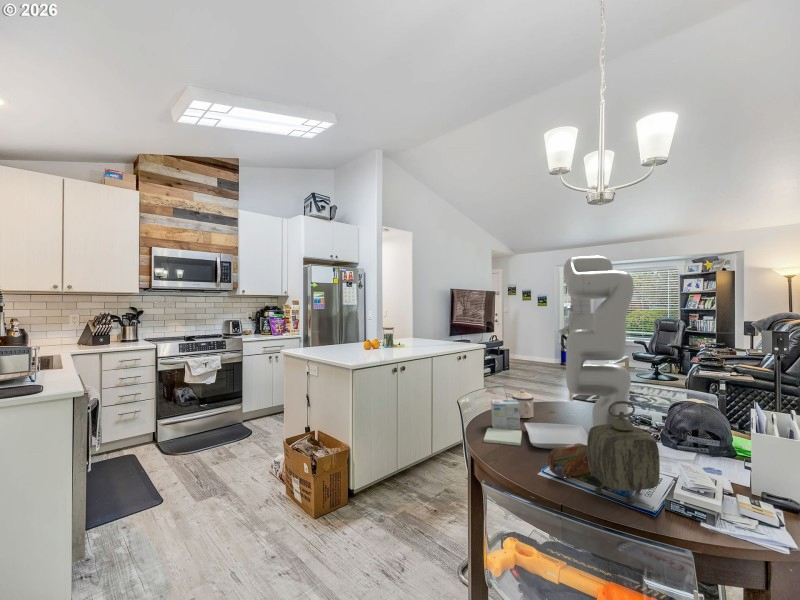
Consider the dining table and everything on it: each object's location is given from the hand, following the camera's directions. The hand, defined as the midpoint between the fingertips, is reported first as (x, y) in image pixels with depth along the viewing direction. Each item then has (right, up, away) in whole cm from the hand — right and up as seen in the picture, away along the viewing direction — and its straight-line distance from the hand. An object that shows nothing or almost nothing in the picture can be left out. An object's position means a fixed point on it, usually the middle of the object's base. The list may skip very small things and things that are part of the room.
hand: (581, 350), depth 156 cm
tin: (-25, -31, -45) cm, 60 cm away
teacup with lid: (-21, -31, +10) cm, 38 cm away
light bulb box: (-33, -31, -3) cm, 45 cm away
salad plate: (-18, -31, -19) cm, 41 cm away
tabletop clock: (-18, -30, -59) cm, 69 cm away
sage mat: (-37, -31, -14) cm, 50 cm away
